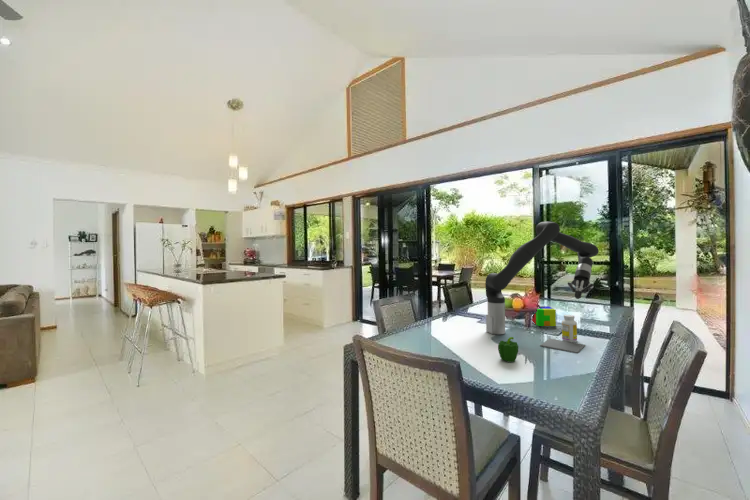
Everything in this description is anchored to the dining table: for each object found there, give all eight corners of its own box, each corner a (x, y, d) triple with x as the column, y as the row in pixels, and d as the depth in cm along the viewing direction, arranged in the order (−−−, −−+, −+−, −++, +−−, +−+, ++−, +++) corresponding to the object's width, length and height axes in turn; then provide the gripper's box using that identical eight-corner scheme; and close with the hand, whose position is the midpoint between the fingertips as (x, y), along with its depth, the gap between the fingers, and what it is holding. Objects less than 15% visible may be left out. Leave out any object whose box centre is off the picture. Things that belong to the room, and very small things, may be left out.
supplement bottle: (575, 339, 174) (575, 314, 173) (578, 343, 168) (578, 317, 167) (560, 338, 176) (560, 313, 176) (563, 342, 170) (563, 316, 169)
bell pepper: (502, 364, 142) (502, 340, 142) (495, 357, 151) (495, 335, 150) (522, 363, 143) (522, 340, 142) (514, 356, 151) (513, 334, 150)
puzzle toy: (548, 322, 208) (548, 306, 208) (555, 326, 198) (555, 309, 198) (532, 322, 209) (531, 306, 209) (538, 326, 199) (538, 309, 199)
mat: (549, 339, 174) (549, 338, 174) (585, 345, 163) (585, 344, 163) (540, 346, 164) (540, 345, 164) (577, 353, 153) (577, 352, 153)
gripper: (568, 268, 194) (562, 292, 185) (595, 269, 184) (590, 295, 176) (571, 276, 198) (565, 300, 189) (597, 278, 188) (592, 303, 180)
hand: (577, 298), depth 183 cm, fingers closed
